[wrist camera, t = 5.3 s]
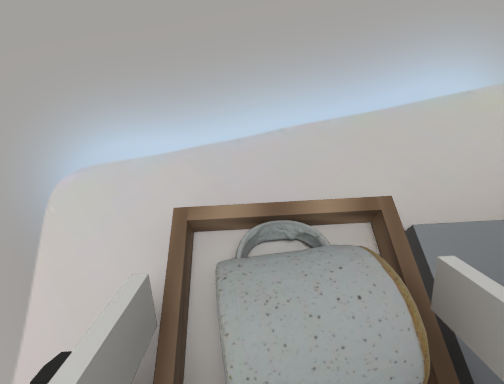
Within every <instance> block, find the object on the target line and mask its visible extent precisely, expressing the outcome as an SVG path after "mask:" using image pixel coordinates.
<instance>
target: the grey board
mask: <svg viewBox="0 0 504 384" xmlns="http://www.w3.org/2000/svg"><path fill="white" fill-rule="evenodd" d="M405 234H406V237H407V240H408V242H409V245H410V248H411V251H412V253H413V256H414V259H415V262H416V264H417V267H418V270H419V273H420V275H421V278H422V281H423V283H424V286H425V289H426V292H427V294H428V297H429V300H430V303H431V301H432V293H433V286H434V278H435V270H436V263H437V257H439V256H455V257H457V258H459V259H460V260H462V261H463V262H465V263H467V264H468V265H470V266H471V267H473V268H474V269H476V270H478V271H479V272H481V273H482V274H484V275H486V276H487V277H489V278H490V279H492V280H494V281H495V282H497V283H498V284H500V285H501V286H503V287H504V220H492V221H474V222H456V223H438V224H420V225H412V226H411V227H410V228H408V229H407V230H406V231H405ZM434 314H435V313H434ZM435 316H436V319H437V322H438V325H439V327H440V330H441V333H442V336H443V338H444V341H445V344H446V347H447V349H448V352H449V355H450V358H451V360H452V363H453V366H454V369H455V371H456V374H457V377H458V380H459V382H460V384H504V382H503V381H502V380H501V379H500V378H499V377H498V376H497V375H496V374H495V373H494V372H493V371H492V370H491V369H490V368H489V367H488V366H487V365H486V364H485V363H484V362H483V361H482V360H481V359H480V358H479V357H478V356H477V355H476V354H475V353H474V352H473V351H472V350H471V349H470V348H469V347H468V346H467V345H466V344H465V343H464V342H463V341H462V340H461V339H460V338H459V337H458V336H457V335H456V334H455V333H454V332H453V331H452V330H451V329H450V328H449V327H448V326H447V325H446V324H445V323H444V322H443V321H442V320H441V319H440V318H439V317H438V316H437V315H436V314H435Z"/></svg>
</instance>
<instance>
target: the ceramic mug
mask: <svg viewBox="0 0 504 384" xmlns="http://www.w3.org/2000/svg"><path fill="white" fill-rule="evenodd" d="M281 239H290V240H293V239H298V240H301V241H304V242H305V243H307V244H309V245H310V246H312V247H313V248H311V249H306V250H301V251H293V252H285V253H277V254H268V255H261V256H254V257H246V256H247V254H248V252H249V251H250V250H251V249H252V248H253V247H254V246H255V245H257V244H260V243H261V242H263V241H270V240H281ZM216 292H217V306H218V318H219V327H220V337H221V345H222V355H223V361H224V368H225V376H226V384H427V382H428V378H429V374H430V355H429V347H428V340H427V333H426V330H425V327H424V324H423V322H422V319H421V316H420V313H419V311H418V308H417V306H416V303H415V302H414V300H413V298H412V296H411V294H410V292H409V290H408V289H407V287H406V285H405V284H404V282H403V281H402V279H401V278H400V277H399V275H398V274H397V273H396V272H395V271H394V269H393V268H392V267H391V266H390V265H389V264H388V263H387V262H386V261H385V260H384V259H383V258H382V257H380V256H379V255H378V254H377V253H375V252H373V251H372V250H370V249H368V248H365V247H362V246H352V245H330V244H329V242H328V241H327V240H326V238H325V237H324V236H323V235H322V234H321V233H320V232H318V231H317V230H316V229H315V228H313V227H311V226H309V225H307V224H304V223H301V222H297V221H290V220H277V221H270V222H265V223H262V224H259V225H257V226H255V227H253V228H252V229H250V230H249V231H248V232H247V233H246V234H245V236H244V237H243V239H242V240H241V242H240V244H239V247H238V250H237V253H236V259H230V260H225V261H222V262H219V263H218V264H217V267H216Z"/></svg>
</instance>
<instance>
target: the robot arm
mask: <svg viewBox="0 0 504 384" xmlns="http://www.w3.org/2000/svg"><path fill="white" fill-rule="evenodd" d="M431 310H432V311H433V312H434V313H435V314H436V315H437V316H438V317H439V318H440V319H441V320H442V321H443V322H444V323H445V324H446V325H447V326H448V327H449V328H450V329H451V330H452V331H453V332H454V333H455V334H456V335H457V336H458V337H459V338H460V339H461V340H462V341H463V342H464V343H465V344H466V345H467V346H468V347H469V348H470V349H471V350H472V351H473V352H474V353H475V354H476V355H477V356H478V357H479V358H480V359H481V360H482V361H483V362H484V363H485V364H486V365H487V366H488V367H489V368H490V369H491V370H492V371H493V372H494V373H495V374H496V375H497V376H498V377H499V378H500V379H501V380H502V381H503V382H504V287H503V286H501V285H500V284H498V283H497V282H495V281H494V280H492V279H490V278H489V277H487V276H486V275H484V274H482V273H481V272H479V271H478V270H476V269H474V268H473V267H471V266H470V265H468V264H467V263H465V262H463V261H462V260H460V259H459V258H457V257H455V256H439V257H437V263H436V270H435V278H434V286H433V293H432V301H431ZM156 327H157V321H156V315H155V309H154V304H153V298H152V292H151V286H150V280H149V274H138V275H131V276H130V277H129V279H128V280H127V281H126V283H125V284H124V285H123V287H122V288H121V289H120V290H119V292H118V293H117V294H116V296H115V297H114V298H113V300H112V301H111V302H110V303H109V305H108V306H107V307H106V309H105V310H104V311H103V313H102V314H101V315H100V316H99V318H98V319H97V320H96V322H95V323H94V324H93V325H92V327H91V328H90V329H89V331H88V332H87V333H86V335H85V336H84V337H83V338H82V340H81V341H80V342H79V344H78V345H77V346H76V348H75V349H74V350H73V351H70V352H61V353H60V354H58V355H57V356H56V357H55V358H53V359H52V360H51V361H50V362H48V363H47V364H46V365H45V366H44V367H43V368H42V369H41V370H40V371H39V372H38V374H37V375H36V376H35V377H34V378H33V380H32V381H31V382H30V384H131V383H132V380H133V378H134V376H135V374H136V371H137V369H138V367H139V365H140V363H141V360H142V358H143V356H144V354H145V351H146V349H147V347H148V345H149V342H150V340H151V338H152V336H153V334H154V331H155V329H156Z"/></svg>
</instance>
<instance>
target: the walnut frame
mask: <svg viewBox="0 0 504 384" xmlns="http://www.w3.org/2000/svg"><path fill="white" fill-rule="evenodd" d="M277 220H290V221H297V222H301V223H304V224H307V225H325V224H343V223H362V222H371V225H372V228H373V231H374V235H375V238H376V241H377V245H378V248H379V251H380V255H381V257H382V258H383V259H384V260H385V261H386V262H387V263H388V264H389V265H390V266H391V267H392V268H393V269H394V271H395V272H396V273H397V274H398V275H399V277H400V278H401V279H402V281H403V282H404V284H405V285H406V287H407V289H408V290H409V292H410V294H411V296H412V298H413V300H414V302H415V303H416V306H417V308H418V311H419V313H420V316H421V319H422V322H423V324H424V327H425V330H426V333H427V340H428V347H429V355H430V374H429V378H428V382H427V384H460V382H459V380H458V377H457V374H456V371H455V369H454V366H453V363H452V360H451V358H450V355H449V352H448V349H447V347H446V344H445V341H444V338H443V336H442V333H441V330H440V327H439V325H438V322H437V319H436V316H435V314H434V312H433V311H432V310H431V303H430V300H429V297H428V294H427V292H426V289H425V286H424V283H423V281H422V278H421V275H420V273H419V270H418V267H417V264H416V262H415V259H414V256H413V253H412V251H411V248H410V245H409V242H408V240H407V237H406V234H405V231H404V229H403V226H402V223H401V220H400V218H399V215H398V212H397V209H396V207H395V204H394V201H393V198H392V196H381V197H363V198H345V199H327V200H308V201H290V202H272V203H254V204H236V205H218V206H200V207H182V208H174V210H173V219H172V227H171V236H170V244H169V253H168V262H167V270H166V279H165V287H164V296H163V304H162V313H161V321H160V330H159V338H158V347H157V356H156V364H155V373H154V381H153V384H183V377H184V363H185V349H186V334H187V320H188V306H189V292H190V277H191V263H192V249H193V235H194V232H198V231H217V230H235V229H252V228H253V227H255V226H257V225H259V224H262V223H265V222H270V221H277Z"/></svg>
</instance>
